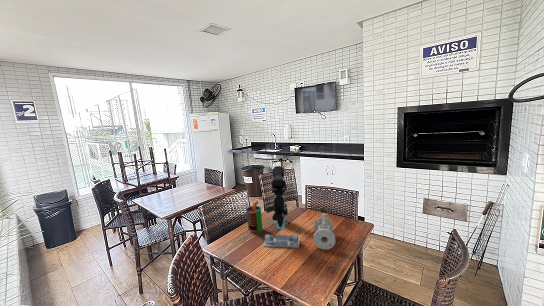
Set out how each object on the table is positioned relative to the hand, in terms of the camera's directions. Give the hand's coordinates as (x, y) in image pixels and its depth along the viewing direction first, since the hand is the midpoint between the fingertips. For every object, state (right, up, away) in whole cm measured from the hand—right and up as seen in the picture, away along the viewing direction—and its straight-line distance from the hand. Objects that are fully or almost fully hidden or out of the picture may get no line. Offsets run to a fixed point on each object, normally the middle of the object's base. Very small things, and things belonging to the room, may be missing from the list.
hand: (281, 225), depth 130 cm
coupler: (0, -1, 0) cm, 1 cm away
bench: (0, -11, +1) cm, 11 cm away
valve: (+26, -10, +3) cm, 28 cm away
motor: (-16, -10, +19) cm, 27 cm away
